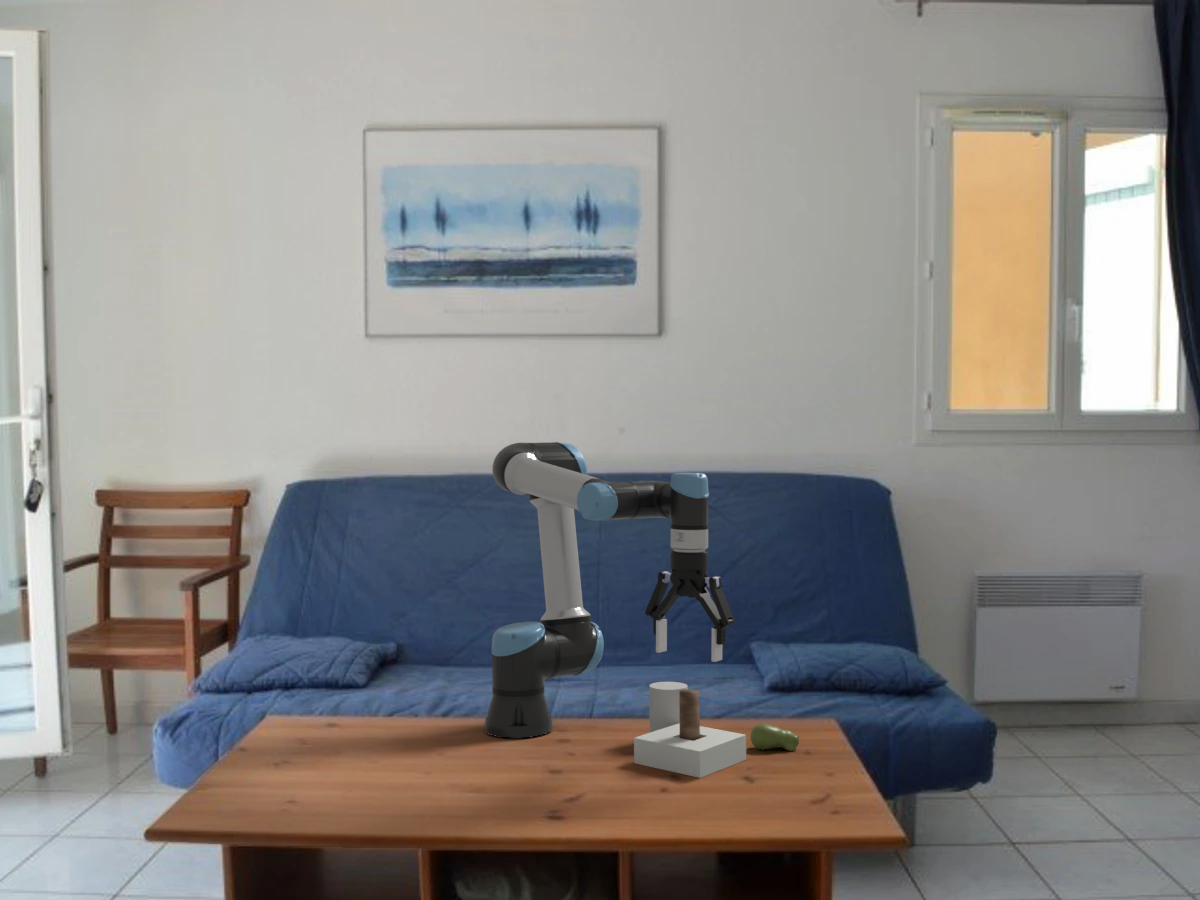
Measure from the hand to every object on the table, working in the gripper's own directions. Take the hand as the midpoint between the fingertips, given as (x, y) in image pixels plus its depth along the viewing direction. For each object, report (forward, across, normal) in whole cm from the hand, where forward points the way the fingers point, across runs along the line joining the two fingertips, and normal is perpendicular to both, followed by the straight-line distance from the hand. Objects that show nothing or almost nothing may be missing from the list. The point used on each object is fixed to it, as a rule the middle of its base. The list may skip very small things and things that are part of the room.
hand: (688, 656), depth 218 cm
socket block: (+21, +1, 0) cm, 21 cm away
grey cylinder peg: (+21, -12, +9) cm, 26 cm away
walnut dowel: (+21, +1, 0) cm, 21 cm away
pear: (+21, +9, +19) cm, 30 cm away
